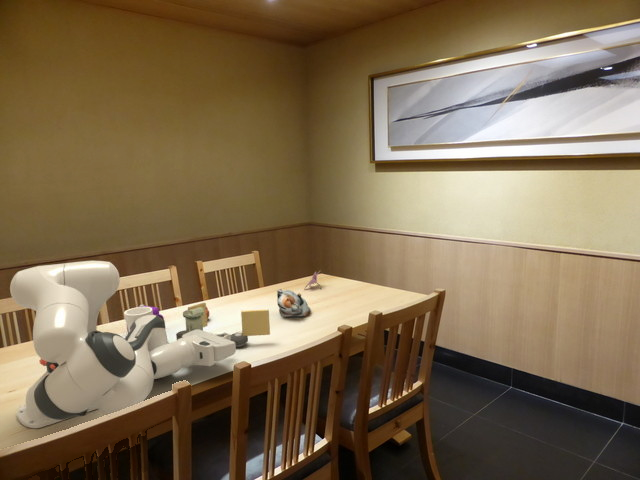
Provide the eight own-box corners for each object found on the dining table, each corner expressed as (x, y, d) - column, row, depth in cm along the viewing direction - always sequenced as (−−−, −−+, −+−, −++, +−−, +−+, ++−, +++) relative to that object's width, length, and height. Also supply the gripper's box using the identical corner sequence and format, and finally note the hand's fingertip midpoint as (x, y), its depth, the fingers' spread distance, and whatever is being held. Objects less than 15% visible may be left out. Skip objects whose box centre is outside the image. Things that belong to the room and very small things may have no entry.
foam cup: (126, 352, 160) (122, 316, 158) (129, 342, 169) (125, 308, 166) (154, 348, 162) (151, 313, 160) (156, 338, 171) (153, 305, 169)
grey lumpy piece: (316, 314, 192) (309, 291, 184) (293, 330, 188) (285, 307, 179) (297, 297, 203) (290, 274, 194) (275, 312, 198) (266, 289, 190)
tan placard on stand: (270, 342, 160) (268, 312, 158) (228, 345, 159) (226, 315, 157) (270, 336, 166) (268, 307, 164) (230, 338, 165) (228, 309, 163)
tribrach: (184, 372, 143) (180, 326, 141) (145, 353, 158) (141, 312, 156) (247, 345, 163) (245, 304, 160) (208, 330, 178) (205, 293, 175)
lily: (320, 286, 239) (311, 270, 239) (333, 281, 230) (323, 265, 229) (305, 298, 232) (295, 282, 231) (318, 293, 223) (308, 277, 222)
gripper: (174, 351, 148) (209, 337, 158) (213, 367, 135) (249, 352, 145) (172, 332, 147) (208, 320, 157) (212, 347, 134) (248, 333, 144)
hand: (228, 335), depth 151 cm, fingers closed
